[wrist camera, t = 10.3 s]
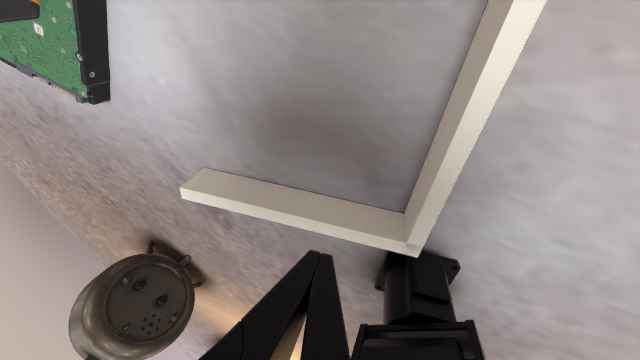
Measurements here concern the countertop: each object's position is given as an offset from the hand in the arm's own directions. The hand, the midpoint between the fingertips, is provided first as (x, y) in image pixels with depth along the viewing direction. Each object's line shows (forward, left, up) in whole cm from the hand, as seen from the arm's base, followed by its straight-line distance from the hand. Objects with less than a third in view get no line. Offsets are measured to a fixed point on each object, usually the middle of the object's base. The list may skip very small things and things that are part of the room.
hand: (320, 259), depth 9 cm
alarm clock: (-22, +20, -12) cm, 32 cm away
